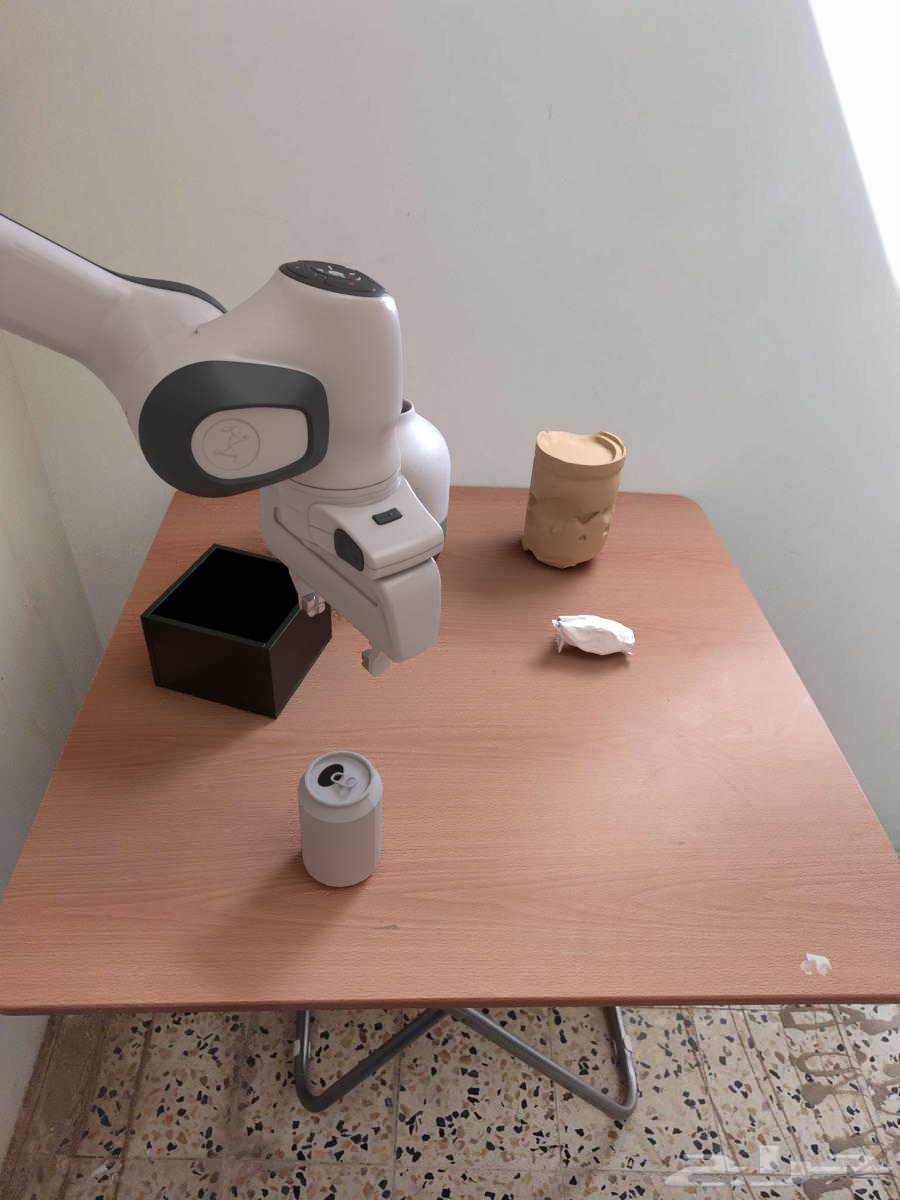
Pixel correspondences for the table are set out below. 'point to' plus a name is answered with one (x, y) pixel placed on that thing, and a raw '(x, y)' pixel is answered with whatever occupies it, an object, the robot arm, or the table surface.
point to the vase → (424, 463)
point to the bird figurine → (593, 634)
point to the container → (572, 495)
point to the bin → (234, 632)
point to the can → (340, 818)
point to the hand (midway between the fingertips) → (342, 638)
